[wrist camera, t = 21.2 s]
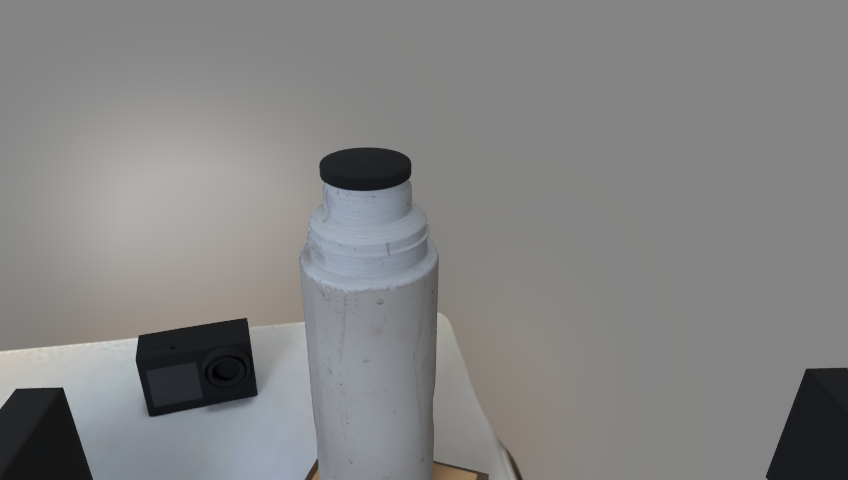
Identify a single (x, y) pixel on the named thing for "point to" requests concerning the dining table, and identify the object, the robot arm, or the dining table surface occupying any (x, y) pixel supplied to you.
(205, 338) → the digital camera
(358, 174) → the thermos bottle
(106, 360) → the dining table surface
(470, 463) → the dining table surface
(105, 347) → the dining table surface
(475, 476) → the stand
